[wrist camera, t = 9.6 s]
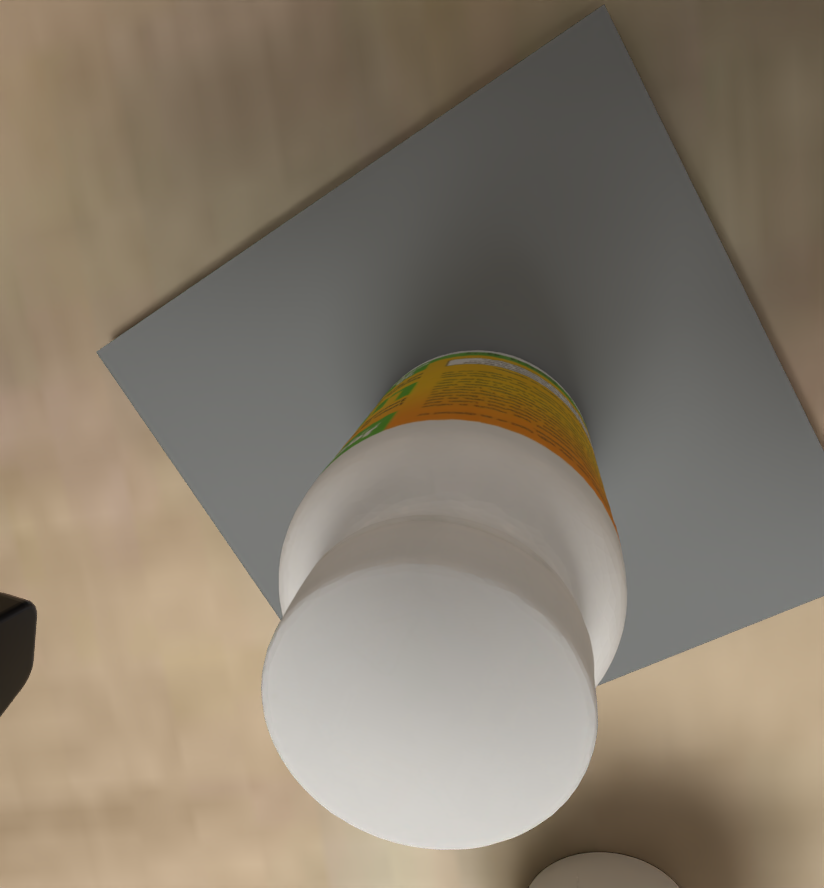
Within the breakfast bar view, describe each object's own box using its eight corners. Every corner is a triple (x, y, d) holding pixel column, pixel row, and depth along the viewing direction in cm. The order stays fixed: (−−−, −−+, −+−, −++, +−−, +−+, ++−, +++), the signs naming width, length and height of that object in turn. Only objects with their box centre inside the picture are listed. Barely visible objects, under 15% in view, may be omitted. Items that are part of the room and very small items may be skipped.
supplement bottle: (410, 312, 17) (266, 424, 7) (629, 395, 16) (757, 615, 7) (341, 510, 18) (156, 798, 9) (538, 587, 18) (549, 959, 9)
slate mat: (389, 751, 21) (384, 770, 21) (113, 346, 19) (96, 351, 18) (868, 556, 18) (883, 571, 17) (600, 15, 15) (604, 4, 14)
